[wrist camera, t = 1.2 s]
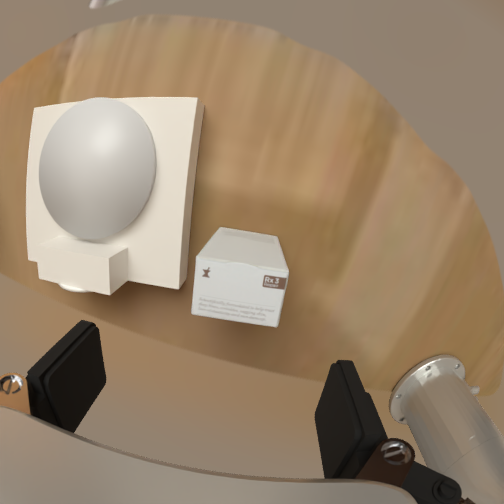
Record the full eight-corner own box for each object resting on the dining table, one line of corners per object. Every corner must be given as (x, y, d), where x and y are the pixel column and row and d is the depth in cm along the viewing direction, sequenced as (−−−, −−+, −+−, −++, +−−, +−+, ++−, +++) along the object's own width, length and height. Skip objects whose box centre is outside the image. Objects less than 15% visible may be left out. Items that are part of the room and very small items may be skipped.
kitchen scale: (204, 105, 27) (185, 84, 20) (186, 282, 32) (165, 313, 25) (50, 111, 27) (9, 103, 20) (43, 256, 32) (5, 275, 25)
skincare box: (214, 265, 31) (185, 319, 20) (219, 223, 30) (190, 255, 18) (273, 275, 31) (277, 334, 20) (281, 232, 30) (290, 271, 18)
